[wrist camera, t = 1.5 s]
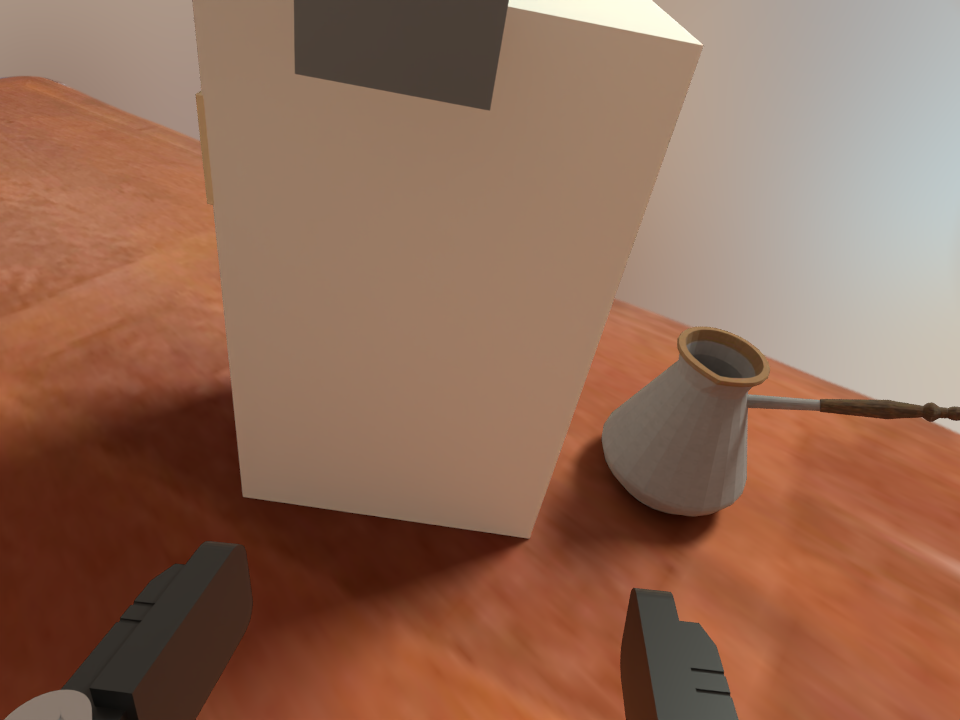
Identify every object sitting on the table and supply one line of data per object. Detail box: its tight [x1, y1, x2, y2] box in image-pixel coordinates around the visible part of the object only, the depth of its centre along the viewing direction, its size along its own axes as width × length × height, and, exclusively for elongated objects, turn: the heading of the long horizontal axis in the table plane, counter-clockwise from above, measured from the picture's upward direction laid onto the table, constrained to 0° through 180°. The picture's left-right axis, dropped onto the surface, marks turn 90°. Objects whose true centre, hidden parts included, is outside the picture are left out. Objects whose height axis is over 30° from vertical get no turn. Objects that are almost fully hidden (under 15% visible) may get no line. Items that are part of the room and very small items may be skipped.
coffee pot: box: [602, 327, 960, 516], centre depth 45 cm, size 21×12×15 cm, turn 67°
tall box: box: [192, 0, 704, 539], centre depth 39 cm, size 14×20×32 cm
